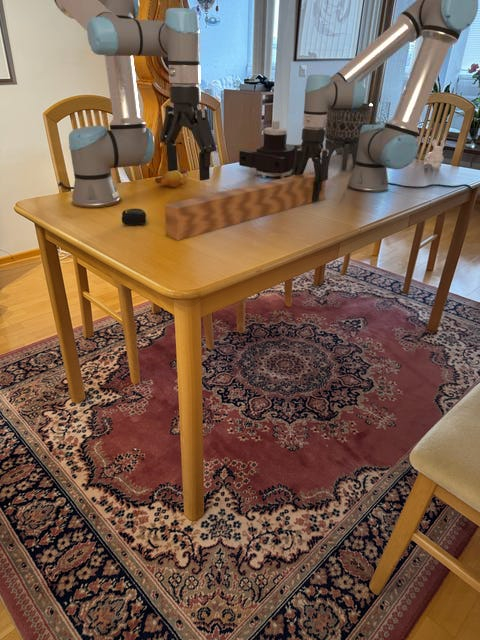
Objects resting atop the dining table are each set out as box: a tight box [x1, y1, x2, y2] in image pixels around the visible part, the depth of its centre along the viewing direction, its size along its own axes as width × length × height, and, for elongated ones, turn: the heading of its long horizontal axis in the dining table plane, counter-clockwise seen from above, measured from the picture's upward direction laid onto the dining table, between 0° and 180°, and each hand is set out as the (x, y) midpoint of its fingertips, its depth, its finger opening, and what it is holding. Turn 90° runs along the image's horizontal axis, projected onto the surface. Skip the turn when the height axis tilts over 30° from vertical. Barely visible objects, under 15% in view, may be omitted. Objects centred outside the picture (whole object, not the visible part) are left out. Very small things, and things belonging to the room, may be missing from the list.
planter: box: [324, 102, 374, 172], centre depth 204 cm, size 20×20×26 cm
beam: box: [164, 170, 327, 241], centre depth 142 cm, size 65×5×9 cm, turn 134°
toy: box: [154, 169, 189, 188], centre depth 173 cm, size 11×6×15 cm
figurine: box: [422, 138, 446, 171], centre depth 207 cm, size 8×15×13 cm, turn 146°
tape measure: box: [121, 207, 147, 226], centre depth 133 cm, size 7×7×4 cm
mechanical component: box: [238, 120, 303, 179], centre depth 191 cm, size 22×21×30 cm
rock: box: [334, 147, 352, 155], centre depth 239 cm, size 13×9×6 cm, turn 131°
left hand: (188, 175), depth 121 cm, fingers open, 13 cm apart
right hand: (307, 198), depth 160 cm, fingers open, 6 cm apart
